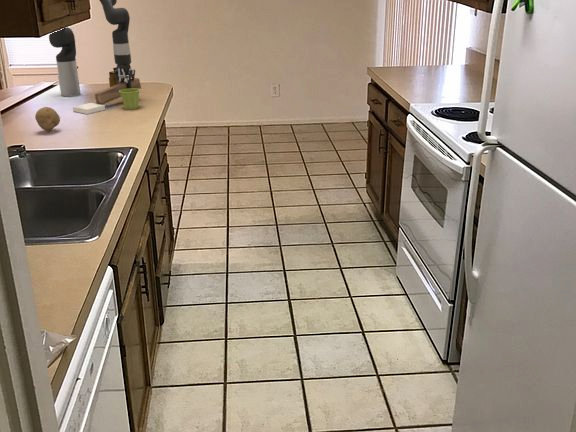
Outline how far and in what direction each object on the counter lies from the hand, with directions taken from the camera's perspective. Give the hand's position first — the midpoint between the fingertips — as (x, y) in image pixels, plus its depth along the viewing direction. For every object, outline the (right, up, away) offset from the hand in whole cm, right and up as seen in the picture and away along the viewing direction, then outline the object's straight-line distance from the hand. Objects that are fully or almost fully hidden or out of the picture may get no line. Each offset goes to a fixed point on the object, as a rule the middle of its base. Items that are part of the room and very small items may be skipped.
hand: (126, 89), depth 293 cm
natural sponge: (-20, -26, -44) cm, 55 cm away
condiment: (-9, 0, +18) cm, 21 cm away
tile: (-10, -10, -11) cm, 18 cm away
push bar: (-3, -3, -2) cm, 5 cm away
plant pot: (+5, -11, -9) cm, 15 cm away
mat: (-11, -11, -9) cm, 18 cm away
